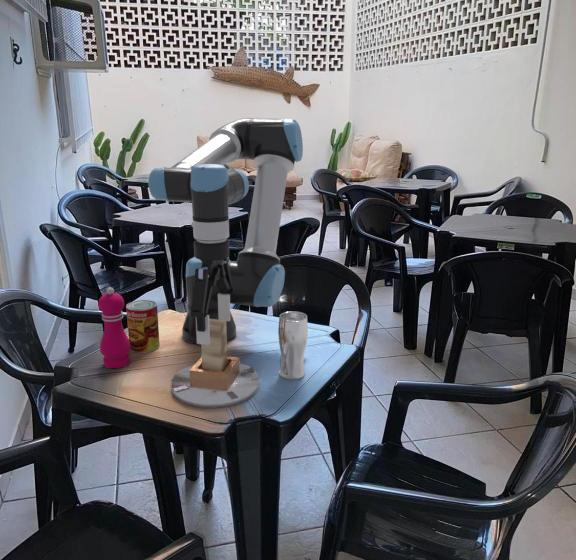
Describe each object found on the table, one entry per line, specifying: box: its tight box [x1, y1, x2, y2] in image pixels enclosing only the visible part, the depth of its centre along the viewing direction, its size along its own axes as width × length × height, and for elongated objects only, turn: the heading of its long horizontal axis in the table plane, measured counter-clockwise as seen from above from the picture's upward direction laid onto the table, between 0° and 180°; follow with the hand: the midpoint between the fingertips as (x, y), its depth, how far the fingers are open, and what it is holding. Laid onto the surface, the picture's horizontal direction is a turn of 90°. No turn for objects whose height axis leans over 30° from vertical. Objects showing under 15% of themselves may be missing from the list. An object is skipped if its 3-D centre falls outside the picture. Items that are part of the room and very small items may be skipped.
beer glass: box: [277, 311, 309, 381], centre depth 126 cm, size 7×7×15 cm
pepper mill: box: [98, 286, 131, 369], centre depth 129 cm, size 7×7×20 cm
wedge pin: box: [200, 319, 228, 372], centre depth 120 cm, size 4×4×14 cm
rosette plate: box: [170, 356, 260, 409], centre depth 121 cm, size 20×20×6 cm
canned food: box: [125, 299, 161, 354], centre depth 140 cm, size 8×8×12 cm
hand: (214, 331), depth 118 cm, fingers open, 13 cm apart
